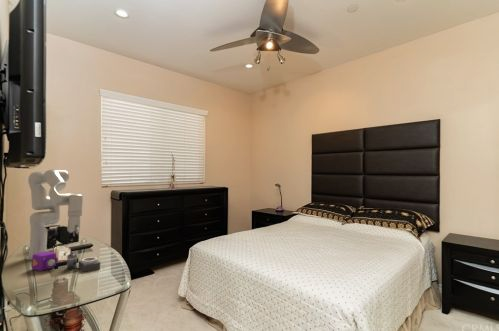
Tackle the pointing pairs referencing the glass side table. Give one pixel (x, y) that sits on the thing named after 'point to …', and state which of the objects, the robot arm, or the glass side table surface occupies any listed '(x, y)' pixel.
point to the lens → (71, 261)
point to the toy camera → (44, 260)
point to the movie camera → (57, 235)
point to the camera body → (89, 264)
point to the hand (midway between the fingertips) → (73, 240)
